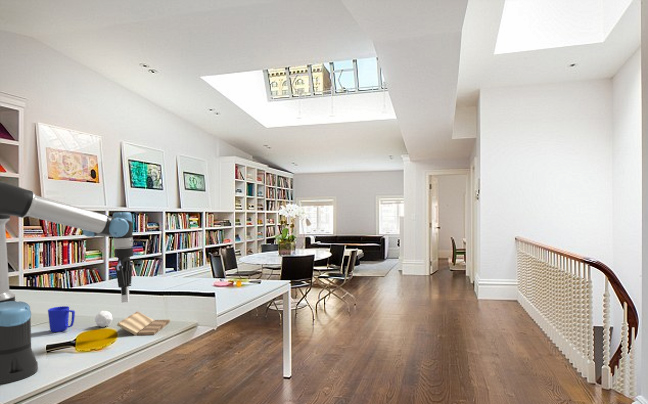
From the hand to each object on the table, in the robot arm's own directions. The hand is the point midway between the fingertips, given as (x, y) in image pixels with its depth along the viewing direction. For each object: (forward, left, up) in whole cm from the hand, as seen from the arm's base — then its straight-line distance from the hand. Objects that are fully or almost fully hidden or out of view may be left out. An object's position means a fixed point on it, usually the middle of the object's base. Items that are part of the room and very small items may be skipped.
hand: (125, 301), depth 187 cm
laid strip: (+7, -10, -14) cm, 18 cm away
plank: (+7, -1, -11) cm, 13 cm away
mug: (+8, +32, -14) cm, 35 cm away
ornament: (+13, +16, -14) cm, 25 cm away
